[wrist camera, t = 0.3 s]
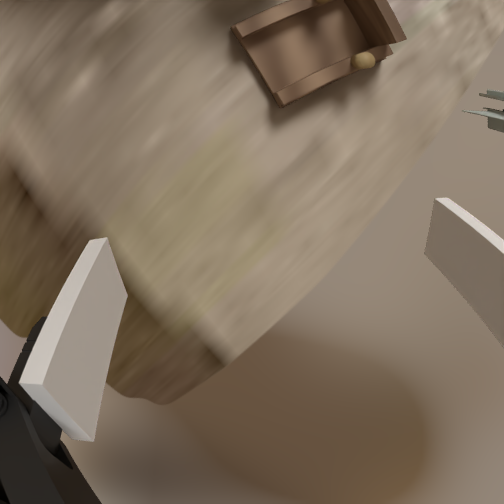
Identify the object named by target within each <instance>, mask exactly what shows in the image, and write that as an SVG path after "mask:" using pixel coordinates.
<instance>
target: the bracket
mask: <svg viewBox="0 0 504 504" xmlns="http://www.w3.org/2000/svg"><path fill="white" fill-rule="evenodd" d="M479 95H480V96H484V97H488V98H493V99H498V100H502V101H504V91H497V90H489V89H487V94H482V93H479ZM484 109H488V111H464V110H463V112H468V113H473V114H478V115H483V116H486V117H488V128H490V129H493V130H497V131H500V132H504V109H503V111H499V110H495V109H490V108H484Z"/></svg>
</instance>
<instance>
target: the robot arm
mask: <svg viewBox="0 0 504 504" xmlns="http://www.w3.org/2000/svg"><path fill="white" fill-rule="evenodd" d="M424 254H425V255H426V256H427V257H428V258H429V259H430V260H431V262H432V263H433V264H434V265H435V266H436V267H437V268H438V269H439V270H440V271H441V272H442V274H443V275H444V276H445V277H446V278H447V279H448V280H449V281H450V282H451V284H452V285H453V286H454V287H455V288H456V289H457V291H458V292H459V293H460V294H461V295H462V296H463V298H464V299H465V300H466V301H467V302H468V303H469V305H470V306H471V307H472V308H473V309H474V311H475V312H476V313H477V314H478V315H479V317H480V318H481V319H482V320H483V322H484V323H485V324H486V326H487V327H488V328H489V329H490V331H491V332H492V333H493V335H494V336H495V337H496V338H497V340H498V341H499V343H500V344H501V345H502V347H503V348H504V240H502V239H501V238H500V237H499V236H498V235H497V234H495V233H494V232H493V231H492V230H490V229H489V228H488V227H487V226H485V225H484V224H483V223H481V222H480V221H479V220H478V219H476V218H475V217H474V216H472V215H471V214H470V213H468V212H467V211H466V210H464V209H463V208H462V207H460V206H459V205H457V204H456V203H455V202H453V201H452V200H451V199H449V198H448V197H446V198H435V199H434V206H433V211H432V217H431V223H430V228H429V233H428V239H427V243H426V248H425V252H424ZM127 296H128V295H127V293H126V290H125V287H124V285H123V282H122V279H121V276H120V274H119V271H118V268H117V265H116V262H115V259H114V256H113V253H112V250H111V247H110V244H109V241H108V238H107V237H106V238H100V239H94V240H89V242H88V244H87V245H86V247H85V249H84V250H83V252H82V254H81V256H80V257H79V259H78V261H77V262H76V264H75V266H74V268H73V269H72V271H71V273H70V275H69V277H68V278H67V280H66V282H65V284H64V286H63V288H62V290H61V291H60V293H59V295H58V297H57V299H56V301H55V303H54V305H53V307H52V309H51V311H50V313H49V315H48V316H47V317H42V318H41V319H40V320H39V321H38V322H37V323H36V324H35V326H34V327H33V328H32V330H31V332H30V334H29V336H28V338H27V343H25V344H24V347H23V349H22V353H20V355H19V357H18V360H17V362H16V364H15V367H14V370H13V371H12V374H11V376H10V379H9V381H8V383H7V384H6V383H5V382H4V380H3V379H2V378H1V377H0V504H102V503H101V502H100V500H99V499H98V497H97V496H96V495H95V493H94V492H93V490H92V489H91V487H90V486H89V484H88V483H87V481H86V480H85V478H84V476H83V475H82V473H81V472H80V470H79V468H78V467H77V465H76V463H75V462H74V460H73V458H72V457H71V455H70V453H69V451H68V449H67V448H66V446H65V445H64V443H63V442H62V441H61V440H60V437H61V432H62V430H63V431H64V432H65V433H66V434H67V435H68V436H69V437H70V438H71V439H73V440H82V441H93V442H94V440H95V433H96V427H97V422H98V416H99V411H100V406H101V401H102V396H103V391H104V386H105V382H106V377H107V373H108V368H109V364H110V360H111V356H112V352H113V347H114V344H115V340H116V336H117V332H118V328H119V324H120V321H121V317H122V313H123V310H124V306H125V303H126V299H127Z"/></svg>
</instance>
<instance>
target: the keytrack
mask: <svg viewBox="0 0 504 504" xmlns="http://www.w3.org/2000/svg"><path fill="white" fill-rule="evenodd" d="M230 29H231V30H232V32H233V33H234V35H235V36H236V38H237V39H238V41H239V42H240V44H241V45H242V47H243V48H244V50H245V51H246V53H247V55H248V56H249V58H250V59H251V61H252V63H253V64H254V66H255V67H256V69H257V71H258V72H259V74H260V75H261V77H262V79H263V80H264V82H265V84H266V85H267V87H268V89H269V90H270V92H271V94H272V96H273V97H274V99H275V101H276V102H277V104H278V106H279V108H283V107H285V106H287V105H289V104H291V103H292V102H294V101H296V100H298V99H300V98H302V97H304V96H306V95H308V94H310V93H312V92H314V91H316V90H318V89H320V88H322V87H324V86H326V85H328V84H330V83H332V82H335V81H337V80H339V79H341V78H343V77H345V76H347V75H350V74H352V73H354V72H356V71H359V70H361V69H366V68H372V67H373V66H374V65H375V63H377V62H379V61H382V60H384V59H386V57H387V56H389V55H392V54H393V52H392V50H391V48H390V46H389V44H393V43H398V42H400V41H403V40H406V39H407V38H406V36H405V34H404V32H403V30H402V28H401V26H400V24H399V22H398V20H397V18H396V16H395V15H394V13H393V11H392V9H391V7H390V5H389V3H388V2H387V0H289V1H286V2H284V3H281V4H279V5H276V6H274V7H271V8H269V9H267V10H264V11H262V12H260V13H258V14H255V15H253V16H251V17H249V18H247V19H245V20H242V21H240V22H238V23H236V24H234V25H232V26H231V28H230Z"/></svg>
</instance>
